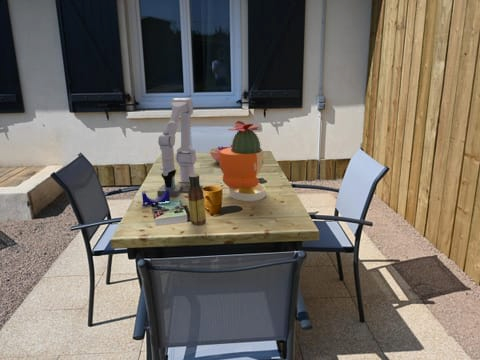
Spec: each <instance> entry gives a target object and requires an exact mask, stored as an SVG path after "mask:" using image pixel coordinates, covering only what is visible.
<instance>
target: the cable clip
mask: <svg viewBox="0 0 480 360" xmlns="http://www.w3.org/2000/svg"><path fill="white" fill-rule="evenodd" d="M141 196H142V197H141V198H142V205H143V207H147V206H152V205H151V204H152V203H158V202H165V201H170V202H171V198H170V197H171V196H170V194H169V189H165V194H164V195H162V196H159V197H158V198H155V199H152V198H150V197H148V195H147V194H146V191H141Z"/></svg>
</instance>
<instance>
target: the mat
mask: <svg viewBox="0 0 480 360" xmlns="http://www.w3.org/2000/svg"><path fill="white" fill-rule="evenodd" d="M200 187H201V188H202V187H203V188H204V186H203V185H200ZM189 188H190V185H185V186H183V190H182V191H181V193H185V194H186V193H187V194H188V190H189ZM203 188H202V189H203Z"/></svg>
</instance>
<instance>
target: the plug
mask: <svg viewBox="0 0 480 360" xmlns="http://www.w3.org/2000/svg"><path fill="white" fill-rule="evenodd" d="M164 185H165V189H174V188H175V185H176V180H175V177H174V176H173V177H172V185H171V188H167V187H166V184H165V183H164Z"/></svg>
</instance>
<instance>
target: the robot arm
mask: <svg viewBox="0 0 480 360" xmlns="http://www.w3.org/2000/svg"><path fill="white" fill-rule="evenodd" d="M170 104H171V105H170V106H171V114H170V119H169V121H167V122H166V124H165V126H164V130H163V132H162V134H160V135H159V137H158V141H157V142H158V146H159V150H160V151H161V163H162V167H160V168H159V169H160V171H161V170H162V173H160V174H161V177H162V179H163V181H164V185H165V184H166V187H167V188H171V185H172V177H173V176H174V178H175V175H176V172H177V169H176V166H175V161H176V163H177V164H178V166H179V172H180V175H179V176H180V179H179V181H178V183H190V180H189V175H192V174H196V173H195V164H196V162H197V154H196V149H195V148H194V147H192V146H191V115H193V114H194V102H193V99H192V98H191V97H187V98H186V97H185V98H181V97H180V98H179V97H174V98H172V100H171V103H170ZM179 119H180V147H179V148H178V149H176V155H174V154H175V152H174V151H175V150H174V146H175V144H176V133H177V130H178V127H179V126H178V121H179Z"/></svg>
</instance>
